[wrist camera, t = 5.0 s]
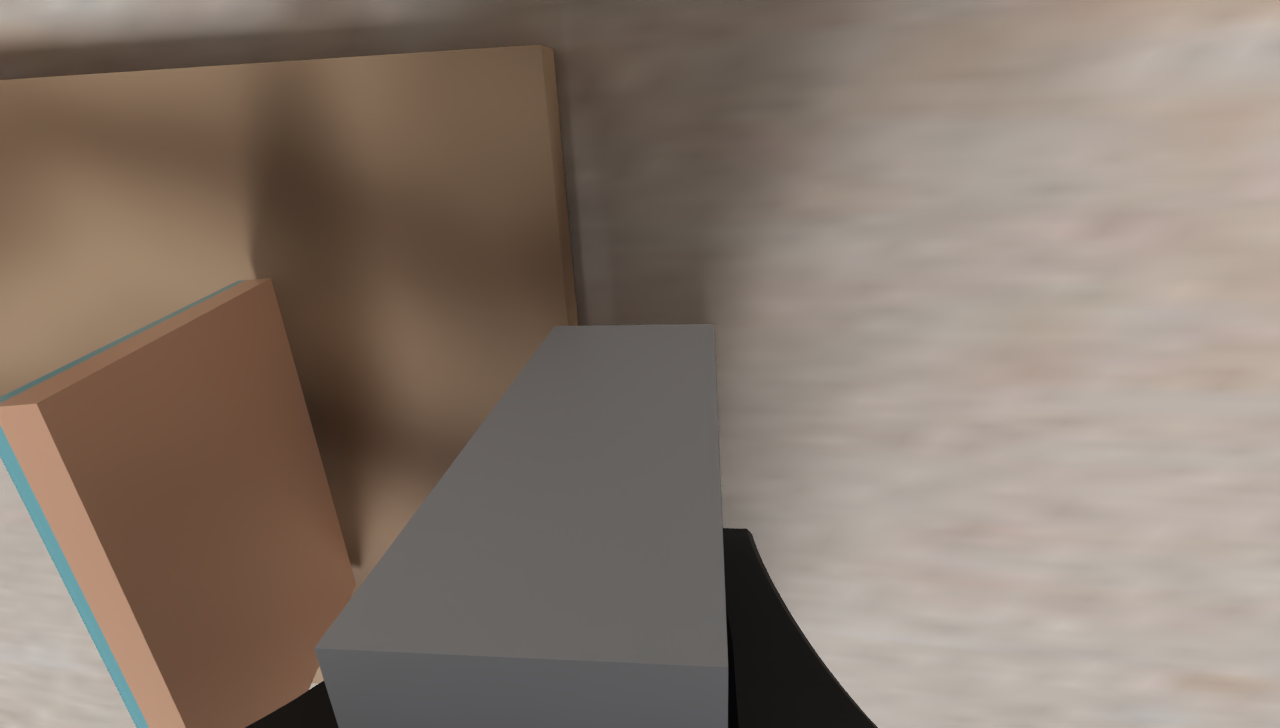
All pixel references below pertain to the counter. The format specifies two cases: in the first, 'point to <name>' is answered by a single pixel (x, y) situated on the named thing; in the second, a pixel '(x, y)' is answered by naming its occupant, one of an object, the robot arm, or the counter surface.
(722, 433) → the counter surface
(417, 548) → the grey rectangular block
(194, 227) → the board
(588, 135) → the counter surface
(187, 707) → the tile
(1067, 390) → the counter surface
